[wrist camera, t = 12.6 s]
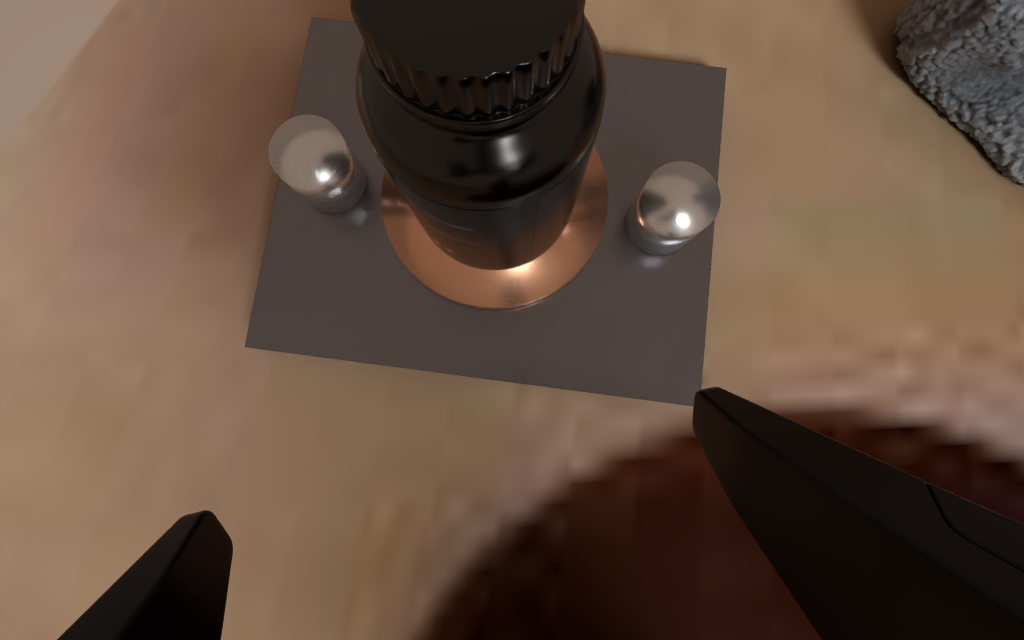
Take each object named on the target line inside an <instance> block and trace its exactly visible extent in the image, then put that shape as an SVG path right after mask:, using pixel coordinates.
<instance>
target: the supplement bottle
mask: <svg viewBox="0 0 1024 640" xmlns="http://www.w3.org/2000/svg"><path fill="white" fill-rule="evenodd" d="M350 2H351V12H352V16H353V18H354V20H355V23H356V25H357V27H358V29H359V31H360V34H361V36H362V38H363V40H364V42H363V45H362V48H361V51H360V55H359V59H358V64H357V71H356V101H357V106H358V112H359V116H360V120H361V123H362V126H363V128H364V131H365V133H366V136H367V138H368V140H369V142H370V144H371V146H372V148H373V149H374V151H375V153H376V155H377V157H378V158H379V160H380V161H381V163H382V164H383V166H384V168H385V169H386V171H387V172H388V174H389V176H390V177H391V179H392V180H393V182H394V183H395V185H396V187H397V188H398V190H399V191H400V193H401V194H402V196H403V198H404V199H405V201H406V202H407V204H408V205H409V207H410V209H411V210H412V212H413V213H414V215H415V217H416V218H417V220H418V221H419V223H420V224H421V226H422V227H423V229H424V230H425V232H426V233H427V235H428V236H429V237H430V239H431V240H432V241H433V242H434V244H435V245H436V246H437V247H438V248H439V249H440V250H442V251H443V252H444V253H445V254H446V255H448V256H449V257H451V258H452V259H454V260H456V261H458V262H460V263H462V264H464V265H467V266H469V267H473V268H477V269H482V270H506V269H512V268H516V267H519V266H522V265H525V264H527V263H529V262H531V261H533V260H535V259H537V258H538V257H540V256H541V255H543V254H544V253H545V252H546V251H547V250H549V249H550V248H551V247H552V246H553V245H554V244H555V242H556V241H557V240H558V239H559V237H560V236H561V234H562V233H563V231H564V229H565V228H566V226H567V224H568V221H569V219H570V216H571V214H572V211H573V208H574V205H575V202H576V199H577V196H578V193H579V190H580V186H581V183H582V180H583V177H584V174H585V171H586V168H587V165H588V161H589V158H590V155H591V152H592V149H593V146H594V143H595V140H596V136H597V133H598V130H599V126H600V123H601V119H602V115H603V110H604V104H605V98H606V71H605V64H604V59H603V55H602V51H601V48H600V45H599V42H598V40H597V37H596V35H595V33H594V31H593V29H592V27H591V25H590V23H589V21H588V20H587V18H586V17H585V15H584V6H585V0H350Z"/></svg>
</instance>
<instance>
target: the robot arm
mask: <svg viewBox="0 0 1024 640" xmlns="http://www.w3.org/2000/svg"><path fill="white" fill-rule="evenodd" d="M692 424H693V429H694V432H695V435H696V437H697V439H698V441H699V443H700V445H701V446H702V448H703V450H704V452H705V454H706V456H707V458H708V460H709V462H710V464H711V466H712V467H713V469H714V471H715V473H716V475H717V477H718V479H719V481H720V483H721V485H722V487H723V488H724V490H725V492H726V494H727V496H728V498H729V499H730V501H731V503H732V505H733V506H734V508H735V510H736V511H737V513H738V514H739V516H740V517H741V519H742V520H743V522H744V523H745V525H746V526H747V528H748V529H749V531H750V532H751V534H752V535H753V537H754V538H755V540H756V541H757V543H758V544H759V546H760V547H761V549H762V550H763V552H764V553H765V555H766V556H767V558H768V559H769V561H770V562H771V564H772V565H773V567H774V568H775V570H776V571H777V573H778V574H779V576H780V577H781V579H782V580H783V582H784V583H785V585H786V586H787V588H788V589H789V591H790V592H791V594H792V595H793V597H794V598H795V600H796V601H797V603H798V604H799V606H800V607H801V609H802V610H803V612H804V613H805V615H806V616H807V618H808V619H809V621H810V622H811V624H812V625H813V627H814V628H815V630H816V631H817V633H818V634H819V636H820V637H821V639H822V640H1024V524H1023V523H1020V522H1018V521H1015V520H1013V519H1010V518H1008V517H1005V516H1003V515H1001V514H998V513H996V512H994V511H991V510H989V509H987V508H985V507H982V506H980V505H978V504H975V503H973V502H971V501H969V500H966V499H964V498H962V497H959V496H957V495H955V494H953V493H951V492H948V491H946V490H944V489H942V488H940V487H937V486H935V485H933V484H931V483H928V484H926V483H925V481H924V480H922V479H919V478H917V477H915V476H913V475H911V474H908V473H906V472H904V471H902V470H900V469H897V468H895V467H893V466H891V465H889V464H887V463H884V462H882V461H880V460H878V459H876V458H873V457H871V456H869V455H867V454H865V453H862V452H860V451H858V450H856V449H854V448H851V447H849V446H847V445H845V444H843V443H840V442H838V441H836V440H834V439H832V438H829V437H827V436H825V435H823V434H821V433H818V432H816V431H814V430H812V429H810V428H807V427H805V426H803V425H801V424H799V423H796V422H794V421H792V420H790V419H788V418H785V417H783V416H781V415H779V414H777V413H775V412H772V411H770V410H768V409H766V408H764V407H761V406H759V405H757V404H755V403H753V402H750V401H748V400H746V399H744V398H742V397H739V396H737V395H735V394H733V393H731V392H728V391H726V390H724V389H722V388H719V387H711V388H707V389H703V390H699V391H697V392H696V394H695V397H694V407H693V421H692ZM232 554H233V545H232V541H231V538H230V536H229V535H228V533H227V532H226V531H225V529H224V528H223V526H222V525H221V523H220V522H219V521H218V519H217V518H216V516H215V515H214V514H213V513H212V512H211V511H208V510H207V511H206V510H204V511H200V512H196V513H192V514H188V515H185V516H183V517H181V518H180V519H179V520H178V521H177V522H176V523H175V524H174V525H173V526H172V527H171V528H170V529H169V530H168V531H167V532H166V533H165V534H164V535H163V536H162V537H160V538H159V539H158V540H157V541H156V542H155V543H154V544H153V545H152V546H151V547H150V548H149V549H148V550H147V551H146V552H145V553H144V554H143V555H142V556H141V557H140V558H139V559H138V560H137V561H136V562H135V563H134V564H133V565H132V566H131V567H130V568H129V569H128V570H127V571H126V572H125V573H124V574H123V575H122V576H121V577H120V578H119V579H118V580H117V581H116V582H115V583H114V584H113V585H112V586H111V587H110V588H109V589H108V590H107V591H106V592H105V593H104V594H103V595H102V596H101V597H100V598H99V599H98V600H97V601H96V602H95V603H94V604H93V605H92V606H91V607H90V608H89V609H88V610H87V611H86V612H85V613H84V614H83V615H82V616H81V617H80V618H79V619H78V620H77V621H76V622H75V623H73V624H72V625H71V626H70V627H69V628H68V629H67V630H66V631H65V632H64V633H63V634H62V635H61V636H60V637H59V638H58V639H57V640H221V634H222V628H223V621H224V613H225V606H226V599H227V591H228V584H229V576H230V569H231V562H232Z"/></svg>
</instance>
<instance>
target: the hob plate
mask: <svg viewBox="0 0 1024 640" xmlns="http://www.w3.org/2000/svg"><path fill="white" fill-rule="evenodd" d="M363 42H364V40H363V38H362V36H361V34H360V31H359V29H358V27H357V25H356V23H352V22H344V21H336V20H328V19H320V18H312V19H311V24H310V29H309V34H308V39H307V44H306V48H305V53H304V58H303V63H302V68H301V73H300V78H299V83H298V88H297V93H296V98H295V103H294V107H293V112H292V117H291V118H290V119H288V120H287V121H285V122H284V123H282V124H281V125H280V126H279V127H278V128H277V129H276V130H275V132H274V133H273V135H272V137H271V139H270V142H269V146H268V158H269V162H270V165H271V167H272V169H273V170H274V172H275V173H276V174H277V175H278V176H279V181H278V186H277V191H276V196H275V201H274V206H273V211H272V215H271V220H270V225H269V230H268V235H267V240H266V245H265V250H264V255H263V260H262V265H261V269H260V274H259V279H258V284H257V289H256V294H255V299H254V304H253V309H252V314H251V319H250V324H249V328H248V333H247V338H246V343H245V347H250V348H257V349H265V350H272V351H280V352H287V353H295V354H302V355H310V356H318V357H325V358H333V359H340V360H348V361H355V362H363V363H370V364H378V365H386V366H393V367H401V368H408V369H416V370H423V371H431V372H439V373H446V374H454V375H461V376H469V377H476V378H484V379H492V380H499V381H507V382H514V383H522V384H529V385H537V386H545V387H552V388H560V389H567V390H575V391H582V392H590V393H598V394H605V395H613V396H620V397H628V398H635V399H643V400H651V401H658V402H666V403H673V404H681V405H688V406H694V397H695V394H696V392H697V391H699V390H701V384H702V372H703V359H704V346H705V334H706V321H707V308H708V296H709V283H710V270H711V258H712V245H713V232H714V220H715V217H716V216H717V213H718V211H719V208H720V191H719V188H718V185H717V182H718V169H719V156H720V144H721V131H722V119H723V106H724V93H725V81H726V68H720V67H712V66H704V65H696V64H688V63H679V62H671V61H663V60H655V59H647V58H639V57H630V56H622V55H614V54H606V53H602V55H603V59H604V64H605V71H606V98H605V104H604V110H603V115H602V119H601V123H600V126H599V130H598V133H597V136H596V140H595V143H594V146H593V149H592V152H591V155H590V158H589V161H588V165H587V168H586V171H585V174H584V177H583V180H582V183H581V186H580V190H579V193H578V196H577V199H576V202H575V205H574V208H573V211H572V214H571V216H570V219H569V221H568V224H567V226H566V228H565V229H564V231H563V233H562V234H561V236H560V237H559V239H558V240H557V241H556V242H555V244H554V245H553V246H552V247H551V248H550V249H549V250H547V251H546V252H545V253H544V254H543V255H541V256H540V257H538V258H537V259H535V260H533V261H531V262H529V263H527V264H525V265H522V266H519V267H516V268H512V269H506V270H482V269H477V268H473V267H469V266H467V265H464V264H462V263H460V262H458V261H456V260H454V259H452V258H451V257H449V256H448V255H446V254H445V253H444V252H443V251H442V250H440V249H439V248H438V247H437V246H436V245H435V244H434V242H433V241H432V240H431V239H430V237H429V236H428V235H427V233H426V232H425V230H424V229H423V227H422V226H421V224H420V223H419V221H418V220H417V218H416V217H415V215H414V213H413V212H412V210H411V209H410V207H409V205H408V204H407V202H406V201H405V199H404V198H403V196H402V194H401V193H400V191H399V190H398V188H397V187H396V185H395V183H394V182H393V180H392V179H391V177H390V176H389V174H388V172H387V171H386V169H385V168H384V166H383V164H382V163H381V161H380V160H379V158H378V157H377V155H376V153H375V151H374V149H373V148H372V146H371V144H370V142H369V140H368V138H367V136H366V133H365V131H364V128H363V126H362V123H361V120H360V116H359V112H358V106H357V101H356V71H357V64H358V59H359V55H360V51H361V48H362V45H363Z"/></svg>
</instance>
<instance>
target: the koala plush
mask: <svg viewBox="0 0 1024 640" xmlns="http://www.w3.org/2000/svg"><path fill="white" fill-rule="evenodd" d="M896 25H897V26H896V28H895V31H894V32H893V34H894V35H897V36H899V39H898V40H899V41H900V42H901V44H900V45H899V46H898V47H897V49H896V50H897V52H898V54H897V56H896V58H898V59H899V60H900V61H901V64H902V65H903V66H904V70H905V71H906V72H907V75H908V77H909V80H910V81H911V82H912V83H913V84H914V86H915V87H916V88H919V89H920V93H921V94H925V97H926V98H928V101H932V102H931V103H932V104H933V105H935V106H936V107H937V108H938V110H939V111H940V112H943V114H944V115H947V116H948V119H949V120H950V121H952V122H955V124H956V126H957V127H958V128H959V129H962V130H964V131H965V132H966V133H969V132H970V134H969V135H970V137H973V138H974V139H975V140H976V141H979V143H980V145H981V146H982V147H983V149H984V150H985V152H986V154H987V156H988V157H989V158H991V159H992V161H993V162H995V163H996V165H997V169H998V170H1000V171H1002V175H1003V176H1008V177H1009V178H1010V179H1011V180H1012V181H1013V182H1015V183H1016V182H1019V183H1022V185H1023V187H1024V0H910V3H908V4H907V6H906V8H905V9H904V10H903V11H902V15H900V16H899V17H898V18H897V20H896Z"/></svg>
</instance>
